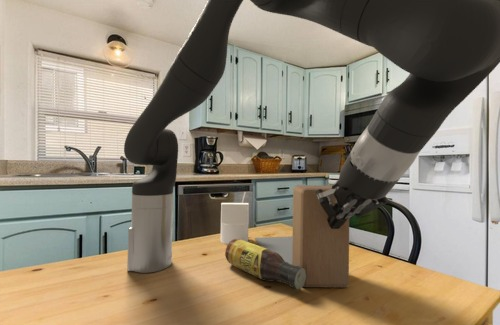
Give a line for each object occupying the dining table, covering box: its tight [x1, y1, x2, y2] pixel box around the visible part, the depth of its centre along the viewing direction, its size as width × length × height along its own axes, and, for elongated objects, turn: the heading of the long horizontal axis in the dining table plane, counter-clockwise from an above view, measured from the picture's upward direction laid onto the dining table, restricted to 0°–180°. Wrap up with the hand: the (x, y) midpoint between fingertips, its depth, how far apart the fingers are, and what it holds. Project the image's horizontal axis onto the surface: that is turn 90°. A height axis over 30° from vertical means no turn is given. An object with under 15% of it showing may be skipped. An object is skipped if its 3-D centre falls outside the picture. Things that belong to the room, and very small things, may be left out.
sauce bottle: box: [224, 239, 306, 290], centre depth 54 cm, size 6×6×20 cm
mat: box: [254, 235, 293, 265], centre depth 71 cm, size 16×24×1 cm, turn 10°
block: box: [292, 184, 350, 288], centre depth 54 cm, size 10×10×20 cm
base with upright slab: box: [220, 202, 250, 245], centre depth 79 cm, size 9×9×12 cm
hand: (332, 224), depth 47 cm, fingers closed
